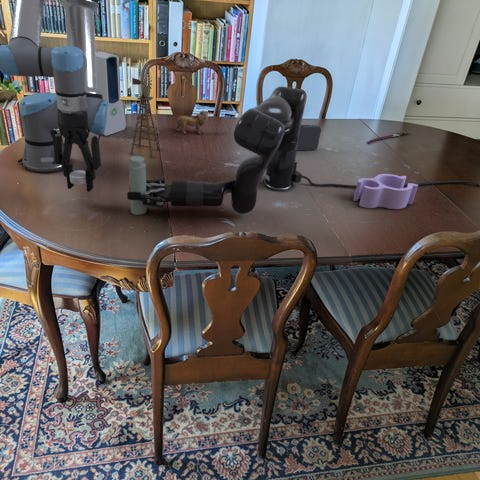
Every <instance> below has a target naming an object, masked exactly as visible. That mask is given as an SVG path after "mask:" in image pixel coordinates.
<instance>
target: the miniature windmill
mask: <svg viewBox="0 0 480 480" xmlns="http://www.w3.org/2000/svg"><path fill="white" fill-rule="evenodd" d="M148 74H149V75H148ZM148 74H147V70H145V73H143V77H142V79H143V80H141V79H138V78H136V77H135V78H134V77H132V78H131V81H132V82H131V83H132V86H133V85H134V86H137V85H138V86H140V85H141V88H142V89H141V90H142V94H141V95H140V96H138V97H137V98H136V99H137V100H139V101H140V104H139V105H138V107H139V109H138V111H137V112H138V114H137V117H136V124H135V128H134V134H133V136H132V138H133V140H132V143H131V149H130V154H131V155H132V154H133V153H134V149H135V146H137V147H143V148H148V149H149V157H150V158H153V149H152V148H153V147H154V146H155V145H156V148H157V150H160V145H159V139H158V137H157V133H156V127H155V122H154V119H153V116H154V115H153V114H152V110H151V104H150V101H152V100H153V99H154V97H153V96H149V95H150V93H151V90H152V87H151V86H152V85H153V82H152V81H153V79H152V77H153V76H152V73H151V70H148ZM151 82H152V83H151ZM144 109H145V113H144ZM148 113H149V114H148ZM144 117H146V118H144ZM143 121H146V125H144V124H143ZM149 121H151V126H150V122H149ZM139 124H140V126H139ZM143 127H144V128H145V127H146V128H147V131H146V130H143ZM150 129H151V130H150ZM152 132H153V135H154V138H151V133H152ZM142 133H146V134H147V137H142ZM137 136H139V137H137ZM136 137H137V139H136ZM143 139H144V140H148V144H149V145H144V144H142V140H143ZM137 141H138V143H137V144H136V142H137ZM152 141H155V142H154V143H153V144H152Z"/></svg>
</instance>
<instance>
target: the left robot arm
mask: <svg viewBox="0 0 480 480" xmlns="http://www.w3.org/2000/svg"><path fill="white" fill-rule="evenodd" d="M102 1H103V0H59V4H60V5H61V7H62V8H63V9H64V12H65V26H66V27H65V28H66V29H65V30H66V44H67V45H65V46H64V45H63V46H57V47H46V46H45V47H43V46H40V44H41V35H42V26H43V16H44V6H45V3H46V2H47V0H14V7H13V14H12V20H11V27H10V32H9V33H10V34H9V41H8V44H2V45H1V44H0V72H1V74H3V75H4V76H5V75H6V76H15V77H35V78H36V77H38V78H39V77H41V78H42V77H43V78H53V80H54V81H53V82H54V86H55V87H54V89H55V93H54V92H51V91H42V92H36V93H32V94H28V95H25V96H23V97H22V98H21V99H20V101H19V103H18V104H19V116H20V119H21V126H22V132H23V137H24V148H23V153H22V157H20V159H18V160H17V163H18V164H20V163H22V166H23V168H24V169H25V170H27V171H29V172H33V173H39V174H46V173H56V172H61V171H62V174H63V177H65V178H66V185H67V189H68V190H71V189H72V188H73V187H74V186H75V184H72V183H71V182H70V177H69V176H70V173H71V172H73V171H74V169H73V168H74V167H73V164H71V163H72V159H71V157H72V149H73V144H74V145H77V146H78V149H80V152H81V155H82V157H83V160H84V163H85V166H86V169H85V170H84V171H85V175H86V184H85V185H86V192H87V193H90V192H91V191H93V189H94V180H95V179H96V171H97V170H99V168H101V166H102V159H101V150H100V143H99V142H100V139H101V136H104V135H103V134H104V132H105V128H106V119H107V101H106V100H103V97H102V94H101V93H100V92H99V91H98V89H97V70H96V52H97V50H96V34H95V33H96V32H95V31H96V30H95V11H96V10H97V9H99V3H100V2H102ZM63 138H64V140H63ZM88 138H89V141H90V147H89V141H88ZM90 149H91V150H90Z"/></svg>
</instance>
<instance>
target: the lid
mask: <svg viewBox="0 0 480 480" xmlns="http://www.w3.org/2000/svg"><path fill="white" fill-rule="evenodd" d="M85 171H86V170H79V169H78V170H73V172H71V173H70V176H69V177H70V182H71V183H72V184H74V185H77V186H78V185H79V186H80V185H86V175H85Z"/></svg>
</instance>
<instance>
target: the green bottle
mask: <svg viewBox="0 0 480 480" xmlns="http://www.w3.org/2000/svg"><path fill="white" fill-rule="evenodd" d="M128 179H129V180H128V181H129V185H130V190H129V192H141V193H142V192H146V180H147V164H146V163H145V157H143V156H140V155H134V156H131V157H130V160H129V163H128ZM129 203H130V206H129V207H130V213H131V214H132V215H136V216H141V215H144V214H146V213H147V211H148V210H147V207H148V205H143V202H142V201H141V200H129Z"/></svg>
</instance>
